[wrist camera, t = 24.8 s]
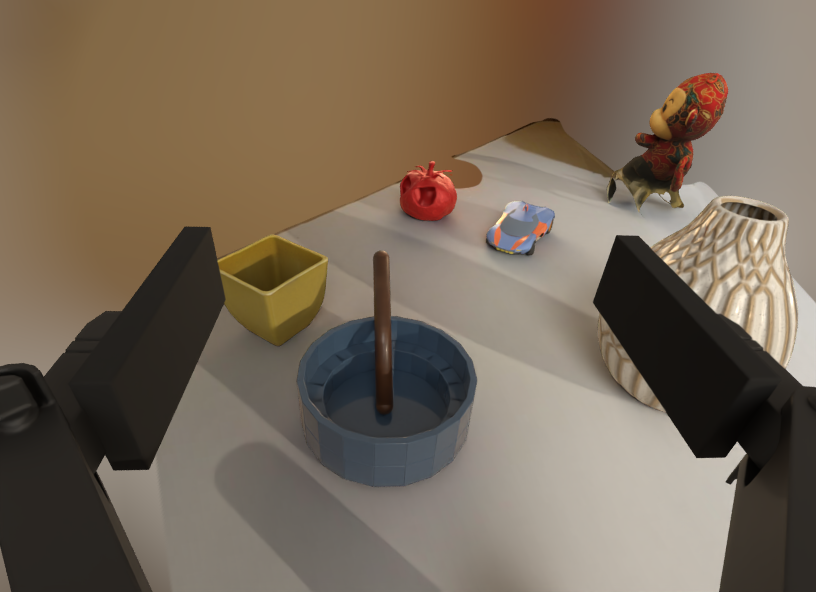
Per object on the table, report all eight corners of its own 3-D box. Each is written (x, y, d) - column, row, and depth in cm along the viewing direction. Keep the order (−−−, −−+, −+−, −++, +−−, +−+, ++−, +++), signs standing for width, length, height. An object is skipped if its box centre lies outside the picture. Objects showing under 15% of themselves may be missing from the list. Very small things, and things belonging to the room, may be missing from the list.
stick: (373, 414, 41) (371, 249, 46) (378, 415, 43) (375, 254, 47) (390, 414, 41) (386, 247, 45) (395, 414, 43) (390, 252, 47)
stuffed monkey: (673, 186, 93) (749, 59, 74) (690, 241, 82) (785, 108, 63) (598, 175, 95) (654, 46, 76) (605, 228, 84) (673, 93, 65)
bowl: (291, 493, 36) (284, 445, 33) (312, 360, 49) (308, 315, 45) (481, 488, 37) (493, 442, 34) (454, 360, 50) (461, 316, 46)
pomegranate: (428, 197, 86) (432, 147, 81) (466, 216, 80) (473, 164, 75) (386, 209, 81) (387, 156, 75) (423, 231, 75) (427, 175, 69)
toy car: (476, 250, 70) (481, 218, 67) (508, 216, 81) (513, 187, 78) (527, 266, 67) (535, 233, 64) (553, 228, 78) (561, 198, 75)
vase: (644, 321, 58) (714, 164, 46) (778, 409, 46) (913, 232, 35) (550, 358, 51) (605, 186, 39) (680, 473, 40) (808, 278, 28)
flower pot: (276, 365, 48) (266, 294, 42) (221, 332, 51) (205, 264, 46) (333, 323, 54) (330, 257, 49) (280, 297, 58) (272, 232, 52)
